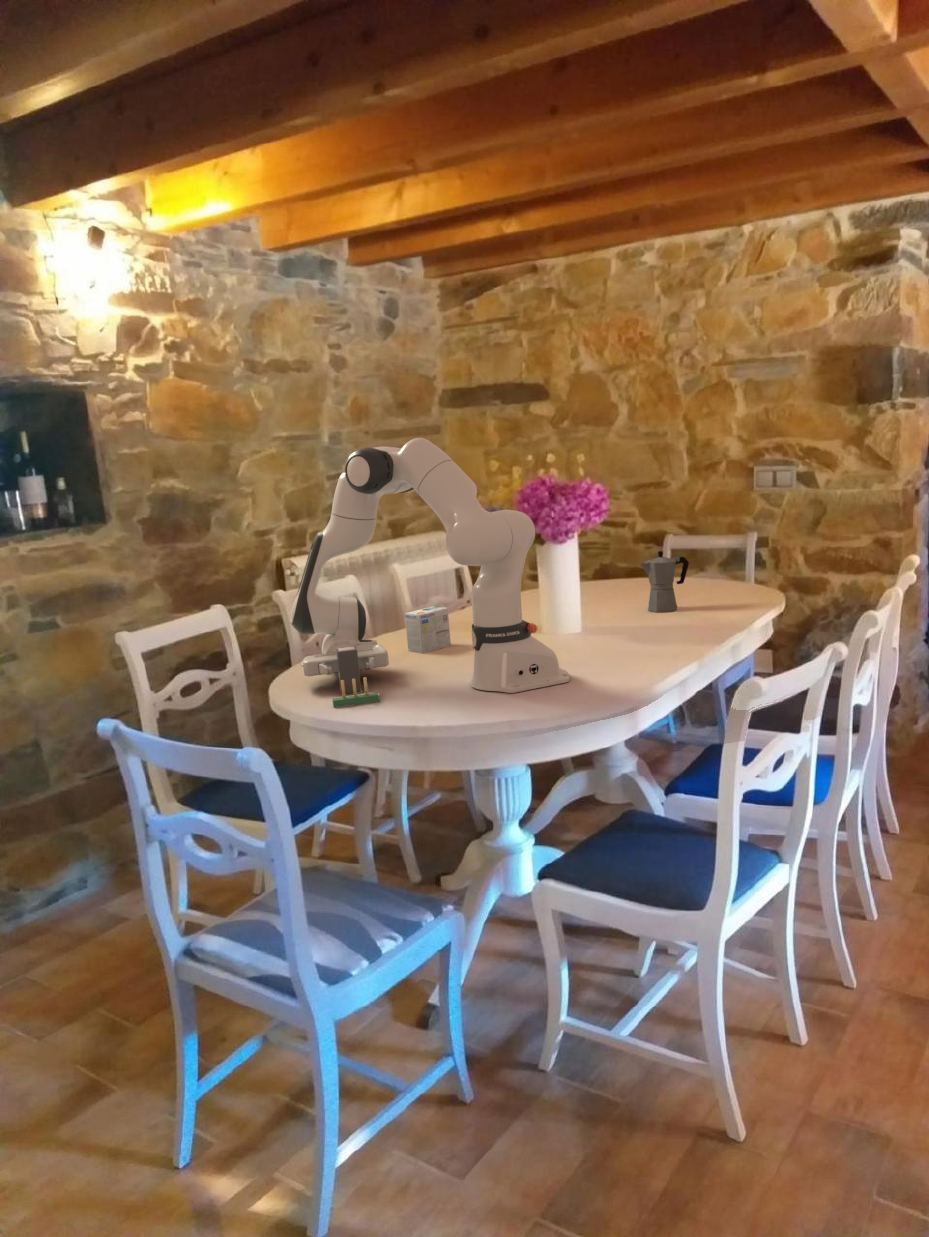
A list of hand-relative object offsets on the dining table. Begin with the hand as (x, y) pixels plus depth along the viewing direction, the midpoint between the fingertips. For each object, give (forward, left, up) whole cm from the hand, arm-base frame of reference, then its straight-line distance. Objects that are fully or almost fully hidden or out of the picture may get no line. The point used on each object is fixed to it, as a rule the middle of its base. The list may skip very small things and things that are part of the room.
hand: (348, 668), depth 215 cm
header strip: (0, +11, -5) cm, 12 cm away
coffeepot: (-101, -48, -6) cm, 113 cm away
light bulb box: (-25, -35, -6) cm, 44 cm away
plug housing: (0, 0, -6) cm, 6 cm away
